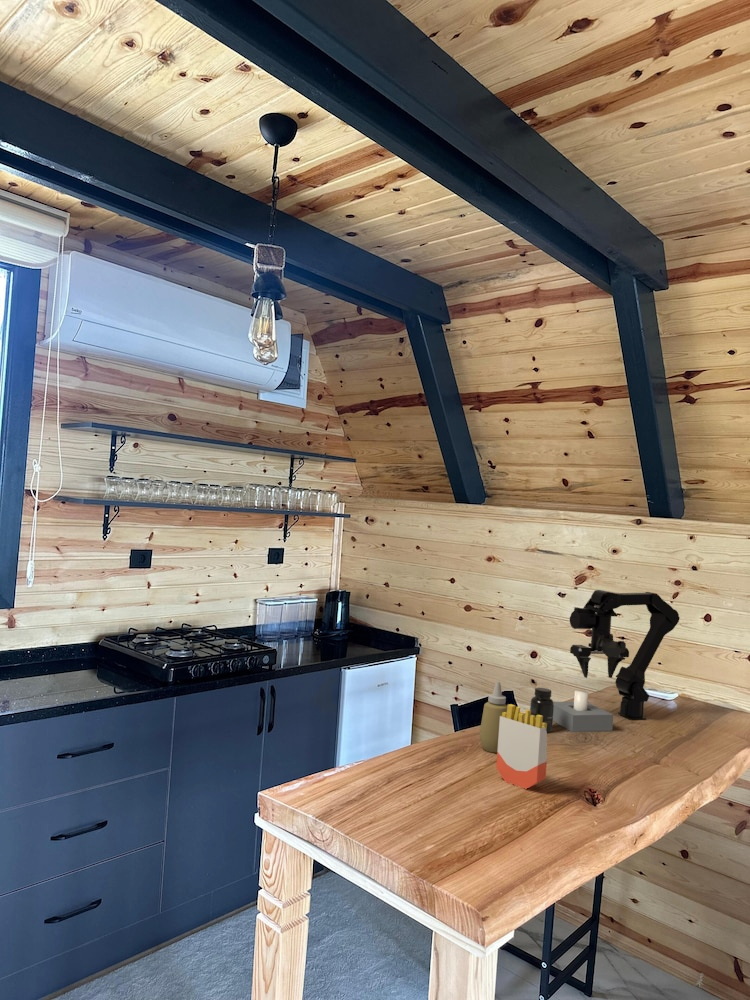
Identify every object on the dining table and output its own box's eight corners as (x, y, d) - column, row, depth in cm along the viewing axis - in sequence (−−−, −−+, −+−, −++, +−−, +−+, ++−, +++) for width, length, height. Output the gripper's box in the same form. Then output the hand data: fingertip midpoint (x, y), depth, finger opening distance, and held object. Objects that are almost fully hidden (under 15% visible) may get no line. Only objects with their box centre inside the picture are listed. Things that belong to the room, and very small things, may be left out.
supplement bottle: (552, 734, 199) (555, 693, 200) (528, 731, 201) (531, 690, 201) (551, 727, 206) (554, 688, 206) (528, 724, 207) (531, 685, 208)
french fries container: (505, 773, 166) (511, 699, 166) (545, 788, 158) (551, 711, 159) (495, 778, 162) (500, 702, 163) (535, 793, 155) (541, 714, 155)
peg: (581, 722, 214) (583, 690, 214) (588, 726, 210) (590, 693, 211) (570, 722, 213) (572, 690, 213) (577, 726, 209) (579, 693, 209)
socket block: (585, 716, 221) (586, 701, 221) (612, 731, 207) (613, 714, 207) (547, 717, 217) (548, 701, 217) (572, 732, 203) (573, 715, 203)
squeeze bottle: (510, 747, 185) (515, 681, 185) (506, 757, 177) (511, 688, 178) (481, 742, 188) (485, 677, 188) (475, 751, 180) (480, 683, 180)
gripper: (590, 633, 211) (587, 684, 210) (641, 634, 216) (638, 684, 216) (570, 627, 221) (567, 675, 221) (619, 628, 227) (616, 675, 226)
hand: (597, 677), depth 221 cm, fingers open, 9 cm apart
